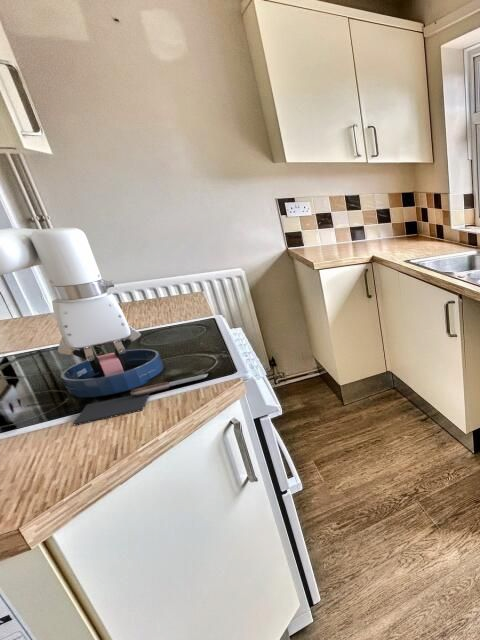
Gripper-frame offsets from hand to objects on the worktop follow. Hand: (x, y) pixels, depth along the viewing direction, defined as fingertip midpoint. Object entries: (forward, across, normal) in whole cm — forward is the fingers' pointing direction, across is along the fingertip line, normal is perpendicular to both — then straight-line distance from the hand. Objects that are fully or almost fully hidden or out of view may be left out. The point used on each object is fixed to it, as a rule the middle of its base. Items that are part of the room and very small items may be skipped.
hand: (112, 371), depth 92 cm
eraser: (0, 0, 0) cm, 0 cm away
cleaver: (+2, -7, +12) cm, 15 cm away
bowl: (+3, 0, 0) cm, 3 cm away
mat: (+3, +2, +15) cm, 15 cm away
